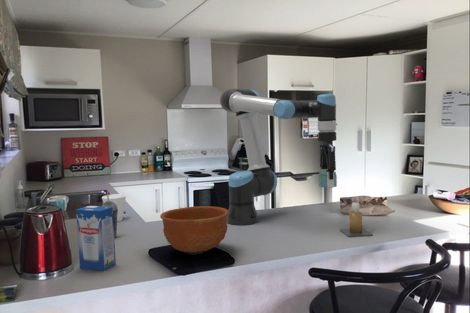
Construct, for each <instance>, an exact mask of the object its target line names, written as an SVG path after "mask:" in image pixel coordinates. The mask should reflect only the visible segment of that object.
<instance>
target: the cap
mask: <svg viewBox="0 0 470 313" xmlns="http://www.w3.org/2000/svg"><path fill="white" fill-rule="evenodd" d="M337 179H338V178H337V172H336V171H334V187H333V188H336V187H337V186H338V184H337V183H338V180H337ZM318 186H319V187H320V188H327V189H328V188H330V189H331V188H332V187H327V172H326V171H323V172H322V171H319V174H318Z"/></svg>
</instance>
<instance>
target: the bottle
mask: <svg viewBox="0 0 470 313" xmlns="http://www.w3.org/2000/svg"><path fill="white" fill-rule="evenodd" d="M348 213H349V215H348V216H349V218H348V221H349V225H348V226H349V228H341V229H339V232H341V233H342V234H344V235H345V236H346V237H347V238H357V237H359V238H360V237H373V236H374V234H373V233H371V231H368V230H367V229H366V228H364V227H363V212H362V211H360V202H359V201H357V202H356V201H353V202H351V211H349V212H348Z"/></svg>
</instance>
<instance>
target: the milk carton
mask: <svg viewBox="0 0 470 313" xmlns="http://www.w3.org/2000/svg"><path fill="white" fill-rule="evenodd" d="M75 213H76V215H75V216H76V228H77V243H78V245H77V246H78V257H79V268H80V269H84V270H92V271H101V272H105V271H107V270H108V269H110V268H113V267H115V266H116V265H117V263H116V262H117V260H116V247H115V246H116V245H115V238H114V225H113V209H112V207H102V205H101V206H100V205H98V206H97V205H87V206H83V207H81V208H77V209H75Z"/></svg>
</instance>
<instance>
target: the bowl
mask: <svg viewBox="0 0 470 313" xmlns="http://www.w3.org/2000/svg"><path fill="white" fill-rule="evenodd" d="M228 210H229V209H227V208H225V207H220V206H211V205H210V206H209V205H208V206H205V205H201V206H200V205H199V206H186V207H180V208H175V209H174V208H173V209H169V210H166V211H164V212H162V213H161V214H160V215H159V217H160V219H162V224H163V231H162V232H163V234H164V237H165V239H166V241H167V243H169V244H170V245H171V247H173V249H174V250H177V251H179V252H184V253H185V252H189V253H197V252H202V251H206V252H207V251H209V250H211V249H214V248H215V247H217V246H218V245H219V244H220V243H221V242H222V240H224V239H225V237H226V234H227V232H228V223H227V216H228V214H229V211H228Z"/></svg>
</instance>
